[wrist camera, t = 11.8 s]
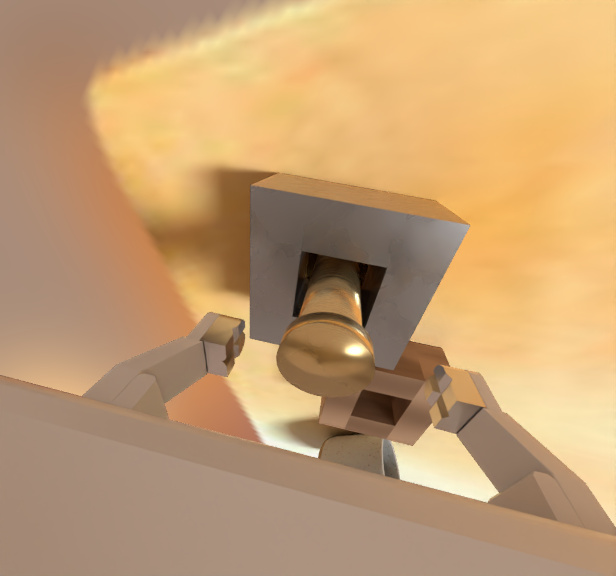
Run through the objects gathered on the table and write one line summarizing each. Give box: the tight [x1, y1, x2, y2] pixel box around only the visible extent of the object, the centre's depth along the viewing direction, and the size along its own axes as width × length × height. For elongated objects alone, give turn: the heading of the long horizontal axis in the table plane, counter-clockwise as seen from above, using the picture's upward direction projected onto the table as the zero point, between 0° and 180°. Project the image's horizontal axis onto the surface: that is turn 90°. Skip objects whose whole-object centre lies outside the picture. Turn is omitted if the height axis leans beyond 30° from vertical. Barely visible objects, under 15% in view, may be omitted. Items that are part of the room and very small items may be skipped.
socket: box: [250, 173, 470, 370], centre depth 15 cm, size 10×10×5 cm
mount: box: [319, 341, 450, 446], centre depth 21 cm, size 9×9×4 cm
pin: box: [276, 254, 375, 397], centre depth 13 cm, size 4×4×10 cm
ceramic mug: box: [318, 434, 400, 480], centre depth 28 cm, size 11×8×8 cm
